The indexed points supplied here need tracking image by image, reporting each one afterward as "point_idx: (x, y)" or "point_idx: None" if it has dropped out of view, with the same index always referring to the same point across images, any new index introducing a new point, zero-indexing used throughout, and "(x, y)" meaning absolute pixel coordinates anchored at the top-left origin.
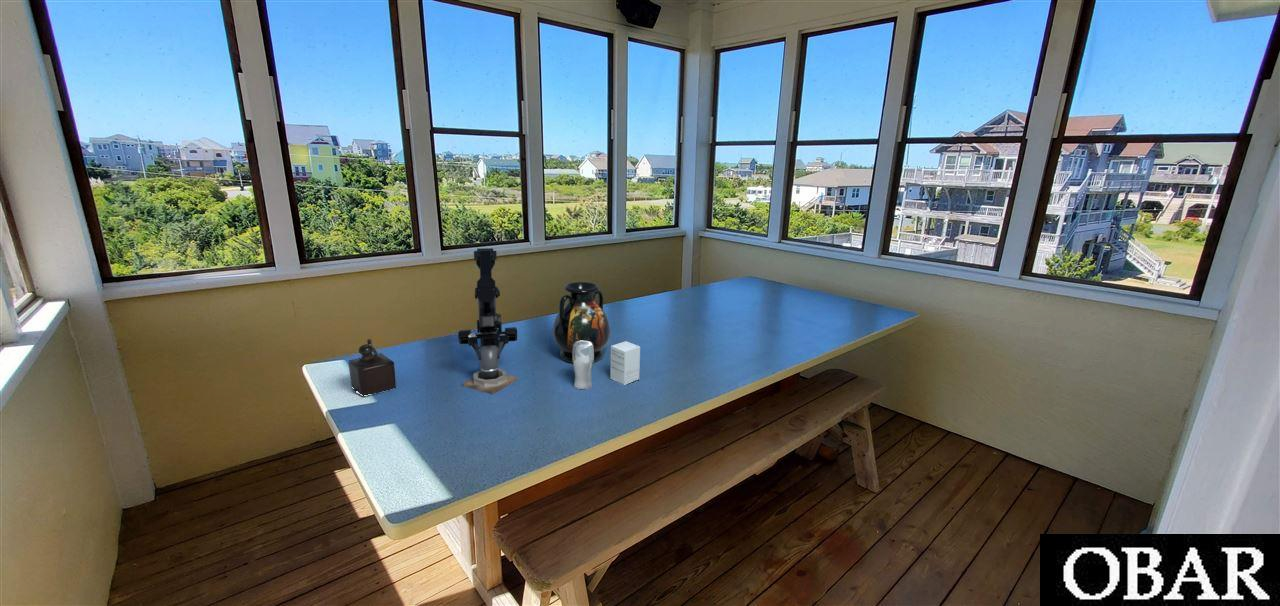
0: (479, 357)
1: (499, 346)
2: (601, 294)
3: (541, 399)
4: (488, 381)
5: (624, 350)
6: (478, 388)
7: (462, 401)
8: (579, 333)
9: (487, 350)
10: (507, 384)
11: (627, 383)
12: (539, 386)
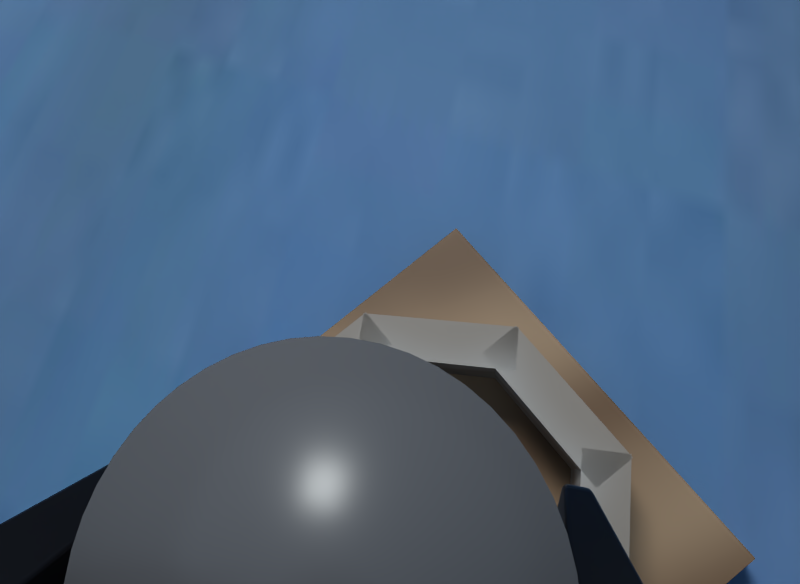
0: (581, 507)
1: (6, 570)
2: None
3: (143, 45)
4: (469, 324)
5: None
6: (575, 362)
7: (741, 181)
8: None
9: (382, 401)
10: None
11: None
12: (62, 256)
